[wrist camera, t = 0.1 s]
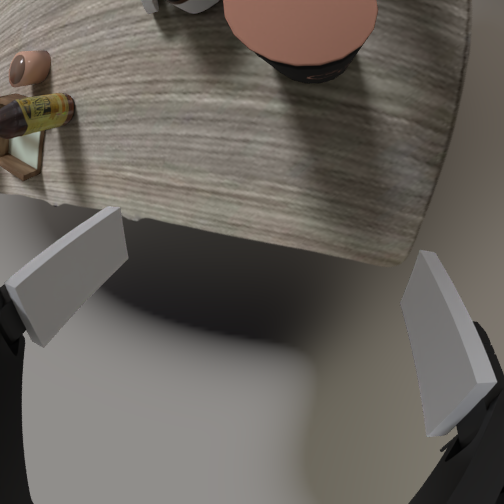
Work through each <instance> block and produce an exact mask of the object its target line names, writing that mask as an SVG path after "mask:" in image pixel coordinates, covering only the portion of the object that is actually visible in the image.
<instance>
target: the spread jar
mask: <svg viewBox="0 0 504 504" xmlns="http://www.w3.org/2000/svg"><path fill="white" fill-rule="evenodd" d="M165 1H167V2H169V3H171V4H172V5H174V6H176V7H178V8H180V9H182V10H184V11H186V12H188V13H192V14H196V13H200V12H202V11H204V10H206V9H208V8H210V7H212V6H213V5H215V4H216V3H217V2H218V1H220V0H165ZM141 2H142V4H143V7H144V9H145V11H146V12H147V14H151V13H154V12H157V11H158V10H159V7H158V0H141Z"/></svg>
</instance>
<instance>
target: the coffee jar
mask: <svg viewBox="0 0 504 504" xmlns="http://www.w3.org/2000/svg"><path fill="white" fill-rule="evenodd" d="M223 4H224V14H225V18H226V20H227V22H228V24H229V26H230V28H231V30H232V32H233V34H234V35H235V36H236V37H237V38H238V39H239V40H240V41H241V42H242V43H243V44H244V45H245V46H247V47H248V48H249V49H250V50H252V51H254V52H255V53H256V54H257V55H258V56H259V57H260V58H262V59H263V60H265V61H266V62H267V63H269V64H270V65H271V66H273V67H274V68H275V69H277V70H278V71H279V72H280V73H282V74H284V75H285V76H287V77H289V78H291V79H292V80H295V81H299V82H303V83H323V82H326V81H329V80H332V79H334V78H336V77H337V76H339V75H340V74H341V73H343V72H344V71H345V69H346V68H347V67H348V65H349V64H350V62H351V61H352V60H353V58H354V57H355V55H356V54H357V52H358V51H359V50H360V48H361V47H362V45H363V44H364V43H365V41H366V40H367V38H368V37H369V35H370V34H371V32H372V31H373V30H374V26H375V22H376V17H377V13H378V7H377V2H376V0H223Z"/></svg>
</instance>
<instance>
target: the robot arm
mask: <svg viewBox="0 0 504 504" xmlns="http://www.w3.org/2000/svg"><path fill="white" fill-rule="evenodd" d="M127 259H128V253H127V248H126V242H125V236H124V229H123V223H122V216H121V208H120V207H112V206H108V207H106V208H104V209H103V210H101V211H100V212H98V213H97V214H95V215H94V216H92V217H91V218H89V219H88V220H87V221H85V222H83V223H82V224H80V225H79V226H77V227H76V228H75V229H73V230H72V231H70V232H69V233H67V234H66V235H65V236H63V237H62V238H60V239H59V240H58V241H57V242H55V243H54V244H52V245H51V246H50V247H48V248H47V249H46V250H44V251H43V252H42V253H40V254H39V255H38V256H37V257H35V258H34V259H32V260H31V261H30V262H29V263H28V264H26V265H25V266H24V267H23V268H21V269H20V270H19V271H18V272H16V273H15V274H14V275H13V276H12V277H10V278H9V279H8V280H7V281H6V282H5V283H4V285H3V286H2V287H0V504H33V502H32V500H31V496H30V492H29V486H28V481H27V474H26V466H25V458H24V448H23V436H22V435H23V434H22V374H23V359H24V349H25V338H24V336H23V333H24V332H25V330H27V332H28V334H29V336H30V338H31V340H32V341H33V342H34V343H36V344H38V345H40V346H42V347H43V348H44V347H45V346H46V345H47V344H48V343H49V341H50V340H51V339H52V338H53V337H54V336H55V335H56V333H57V332H58V331H59V330H60V329H61V328H62V327H63V326H64V325H65V323H66V322H67V321H68V320H69V319H70V318H71V317H72V316H73V315H74V314H75V312H76V311H77V310H78V309H79V308H80V307H81V306H82V305H83V304H84V303H85V302H86V300H88V299H89V298H90V296H91V295H92V294H93V293H94V292H95V291H96V290H97V289H98V288H99V287H100V286H101V285H102V284H103V283H104V282H105V281H106V280H107V279H108V278H109V277H110V276H111V275H112V274H113V273H114V272H115V271H116V270H117V269H118V268H119V267H120V266H121V265H122V264H123V263H124V262H125V261H126V260H127ZM400 305H401V309H402V312H403V316H404V320H405V324H406V328H407V332H408V336H409V340H410V344H411V348H412V353H413V357H414V362H415V367H416V372H417V377H418V382H419V388H420V394H421V400H422V407H423V413H424V421H425V429H426V436H427V437H430V436H442V435H446V434H448V433H449V432H450V431H451V430H452V429H453V428H454V427H455V426H457V431H458V435H456V436H455V437H454V438H453V439H452V440H451V441H449V442H448V443H447V444H446V445H445V446H443V447H442V449H441V450H440V451H441V452H443V451H444V450H445V449H446V448H447V450H446V451H445V453H444V455H443V456H442V458H441V459H440V461H439V463H438V464H437V466H436V467H435V468H434V470H433V471H432V473H431V475H430V476H429V477H428V479H427V480H426V481H425V483H424V484H423V486H422V487H421V488H420V490H419V491H418V492H417V494H416V495H415V496H414V497H413V499H412V500H411V501H410V502H409V504H504V374H503V371H502V369H501V366H500V364H499V361H498V359H497V356H496V355H495V354H494V353H495V352H494V349H493V347H492V345H490V344H491V343H490V340H489V338H488V336H487V334H486V332H485V331H484V329H483V328H482V327H481V326H480V325H479V324H478V322H474V321H472V319H471V318H470V316H469V313H468V311H467V309H466V307H465V305H464V303H463V301H462V299H461V297H460V295H459V293H458V291H457V289H456V288H455V286H454V284H453V282H452V280H451V279H450V277H449V275H448V273H447V271H446V270H445V268H444V266H443V264H442V263H441V261H440V259H439V258H438V256H437V254H436V253H435V252H430V251H425V250H420V251H419V254H418V257H417V259H416V263H415V265H414V268H413V271H412V273H411V276H410V279H409V282H408V284H407V287H406V289H405V292H404V294H403V297H402V299H401V302H400Z"/></svg>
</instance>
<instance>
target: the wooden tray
mask: <svg viewBox="0 0 504 504" xmlns="http://www.w3.org/2000/svg"><path fill="white" fill-rule="evenodd" d="M22 98H28V97H26V96H23V95H19V94H11V95H6V96H1V97H0V108H2V107H4V106H6V105H7V104H9V103H11V102H12V101H14V100H17V99H22ZM44 133H45V130H43V131H39V132H35V133H31V134H28V135H24V136H20V137H19V136H18V137H15V138H12V139H3V138H2V137H0V166H1V167H2V168H4V169H5V170H7V171H8V172H10V173H12V174H13V175H15V176H16V177H18V178H19V179H21V180H22V181H25V180H27V179H29V178H31V177H33V176H36V175H38V174H40V173H41V161H42V150H43V141H44Z"/></svg>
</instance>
